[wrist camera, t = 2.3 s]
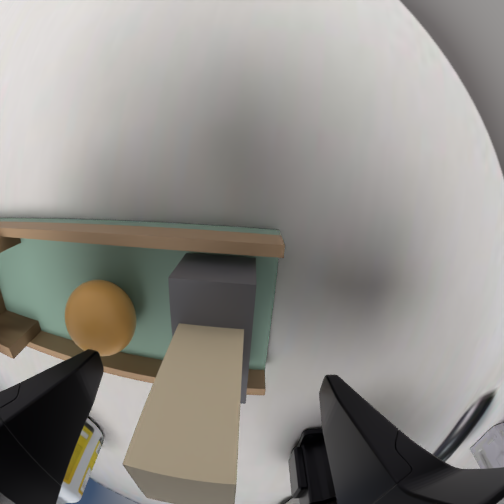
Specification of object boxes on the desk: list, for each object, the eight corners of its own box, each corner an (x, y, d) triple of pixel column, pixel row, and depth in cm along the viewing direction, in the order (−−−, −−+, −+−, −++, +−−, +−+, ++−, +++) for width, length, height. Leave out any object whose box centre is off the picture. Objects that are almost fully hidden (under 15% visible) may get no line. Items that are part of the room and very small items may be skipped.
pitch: (278, 229, 13) (285, 245, 10) (263, 365, 15) (264, 395, 13) (-9, 217, 12) (-32, 226, 10) (11, 316, 15) (-6, 331, 12)
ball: (143, 271, 12) (110, 308, 9) (150, 334, 13) (126, 379, 10) (83, 265, 12) (42, 294, 9) (94, 324, 13) (63, 361, 10)
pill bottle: (44, 390, 17) (-9, 471, 6) (99, 415, 18) (54, 515, 7) (61, 426, 19) (23, 498, 8) (111, 448, 20) (80, 531, 8)
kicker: (255, 258, 12) (259, 446, 3) (246, 366, 13) (241, 523, 5) (185, 253, 12) (81, 412, 3) (189, 360, 13) (150, 510, 5)
